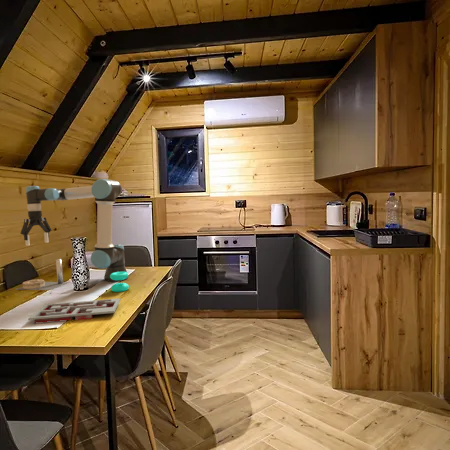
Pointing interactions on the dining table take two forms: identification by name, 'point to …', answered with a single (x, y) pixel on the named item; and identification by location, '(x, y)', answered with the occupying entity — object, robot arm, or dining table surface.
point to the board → (46, 286)
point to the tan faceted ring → (33, 284)
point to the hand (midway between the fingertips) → (37, 244)
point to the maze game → (74, 310)
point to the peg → (59, 271)
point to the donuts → (119, 286)
